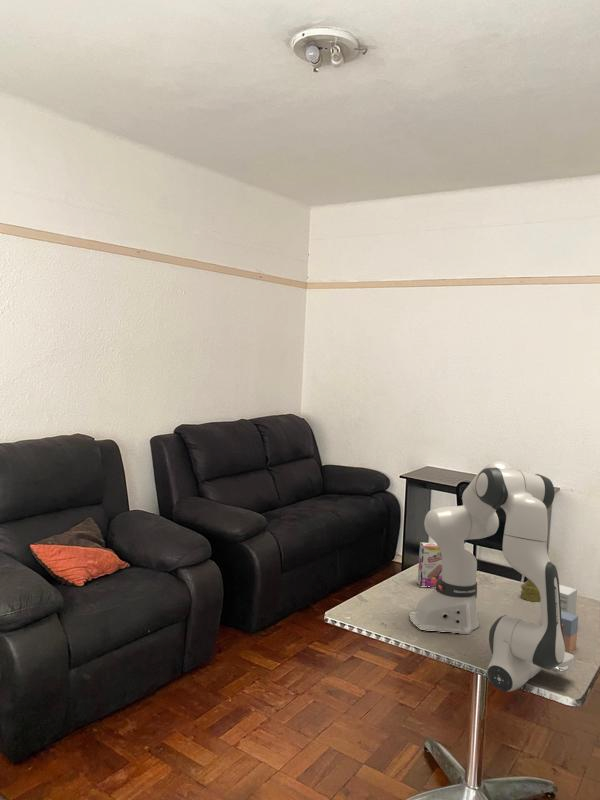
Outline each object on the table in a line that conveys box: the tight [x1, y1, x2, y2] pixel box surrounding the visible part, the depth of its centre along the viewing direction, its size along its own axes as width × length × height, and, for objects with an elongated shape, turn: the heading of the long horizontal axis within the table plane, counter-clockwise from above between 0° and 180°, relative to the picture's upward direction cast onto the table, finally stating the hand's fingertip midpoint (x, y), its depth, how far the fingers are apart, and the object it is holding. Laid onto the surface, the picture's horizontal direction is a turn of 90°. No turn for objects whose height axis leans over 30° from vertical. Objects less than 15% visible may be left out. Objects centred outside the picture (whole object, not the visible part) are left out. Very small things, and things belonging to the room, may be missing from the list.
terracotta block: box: [564, 631, 578, 654], centre depth 195 cm, size 6×6×5 cm
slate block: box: [561, 611, 579, 637], centre depth 194 cm, size 6×6×5 cm
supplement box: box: [559, 584, 578, 615], centre depth 210 cm, size 7×7×13 cm
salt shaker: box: [520, 578, 541, 602], centre depth 234 cm, size 7×7×10 cm
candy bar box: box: [417, 542, 442, 587], centre depth 243 cm, size 11×5×16 cm, turn 94°
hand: (546, 643), depth 185 cm, fingers open, 8 cm apart
